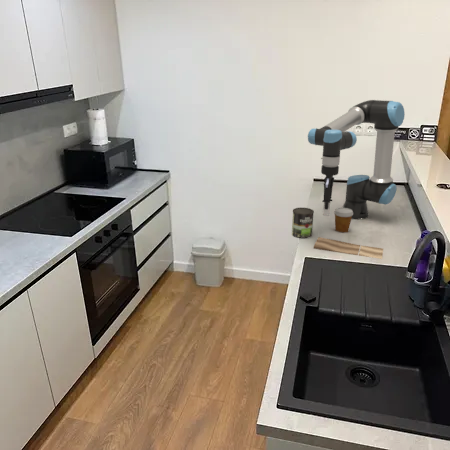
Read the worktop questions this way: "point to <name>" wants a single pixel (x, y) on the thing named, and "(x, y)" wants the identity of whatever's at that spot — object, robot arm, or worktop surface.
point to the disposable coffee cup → (342, 219)
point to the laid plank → (371, 252)
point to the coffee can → (302, 222)
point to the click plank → (336, 246)
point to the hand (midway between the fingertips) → (326, 214)
